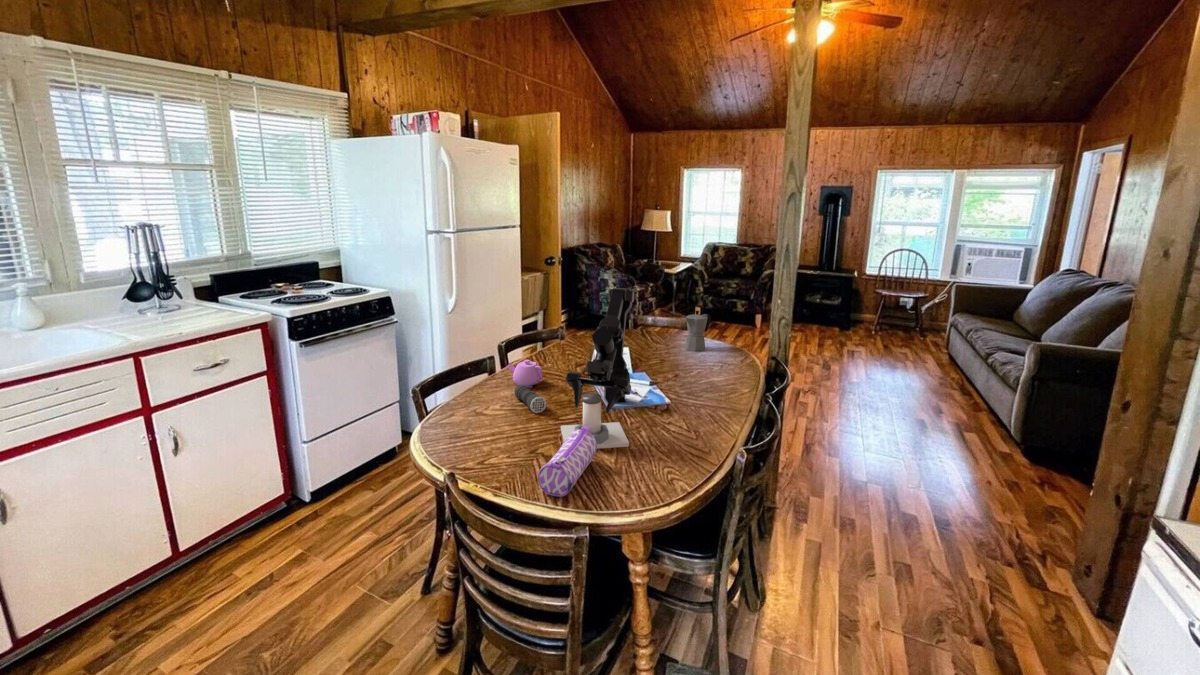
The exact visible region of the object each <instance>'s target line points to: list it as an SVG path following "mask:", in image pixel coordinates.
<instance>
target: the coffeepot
mask: <svg viewBox="0 0 1200 675" xmlns="http://www.w3.org/2000/svg"><path fill="white" fill-rule="evenodd" d="M699 313H700V310H695V314H688V315H686V318H685V321H686V327H687V331H688V334H687V337H686V341H685V345H684V348H685V350H686V351H689V352H692V353H693V352H695V353H698V352H699V353H700V352H704V351H706V342H705V335H704V333H705V332H707V331H708V329H709V326H710V323H711V321H712V316H711V315H710V314H709V313H704V314H699Z"/></svg>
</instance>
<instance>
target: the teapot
mask: <svg viewBox="0 0 1200 675" xmlns="http://www.w3.org/2000/svg"><path fill="white" fill-rule="evenodd" d="M507 367H508V368H509V369H510V371H511V372H512V373H513V374H512V380H513V382H514V384H516V387H517V386H518V385H526V386H527V387H529V388H530V389H532V388H533V386H534V385H539V383H540V382H543V381H544V378H543V368H542V367H541V366H540V365H539V364H538V363H537V362H536V361H531V360H530V359H524V360H523V361H520V362H519V363H517V365H516V367H515V366H514V365H513V363H511V362H510V363H508V364H507Z"/></svg>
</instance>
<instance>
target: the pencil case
mask: <svg viewBox="0 0 1200 675" xmlns="http://www.w3.org/2000/svg"><path fill="white" fill-rule="evenodd" d="M589 431H590V427H587V426H582V427H581V429H576V430H574V431H573V432H572V433H571V434H570V435H569V437H568V438H567V439H566V441H565V442H564V441H563V443H562V445H561V446H560V448H559V449H558V450H557V452H556V453H555V454H554V455H553V456H552V457H551V459H550V460H549V461H548V462H547V463H546V464H543V466H541V468H540V469H539V470H538V473H537V482H538V485H539V487H540V489H541V490H542V491H543V492H544V493H546V494H548V495H549V496H552V497H559V498H561V497H565V496H567V495H568V494H569V493H570V492H571V491H572V489H573V487H574V486H575V485H576V483H577V481H579V478H581V476H582V474H583V473H584V472H585V470H586V469H587V467H588V466H589V465H590V463H591V462H592V460H593V458H594V456H595V455H596V453H597V443H596V440H595V438H594V436H593V435H592V434H591V433H589Z"/></svg>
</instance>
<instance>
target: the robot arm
mask: <svg viewBox="0 0 1200 675" xmlns="http://www.w3.org/2000/svg"><path fill="white" fill-rule="evenodd" d="M607 301H608V306H607V310H606V314H605V317H604V318H602V319H601V320H600V322H599V325H598V326H596V329H595V331H594V332H593V333H592V336H591V339H592V344H593V346H594V349H595V352H596V354H595V356H594V359H593V360H586V365H585V370H584V371H585V373H587V376H588V377H585V376H584V377H583V375H582V373H581V372H576V371H569V372H568V373H567V374H566V376H565V382H566V383H567V385H568V386H569V387H570V388H571V389H572V390H573V393H574V406H575V409H578V408H579V407H580V403H581V400H582V399H581V398H582V396H583V392H584V389H583V387H584V385H589V386H596V387H603V388H604V389H603V397H604V399H605V400H606V402H607V404H606V410H605V412H606V413H608V414H609V412H610V411H611V410H612V408H613V407H614V405H615V404H619V403H618V402H624V403H627V399H626V395H627V396H630V395H631V391H632V385H631V375H630V372H629V369H628V367H627V362H626V360H625V358H624V347H625V345H624V344H625V335H626V334H625V333H626V322H627V316H628V313H629V312H630V311H631V309H632V306H633V303H634V301H635V292H634V291H633V290H632V288H622V287H613V288H610V289H608V293H607ZM616 402H617V403H616Z"/></svg>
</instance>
